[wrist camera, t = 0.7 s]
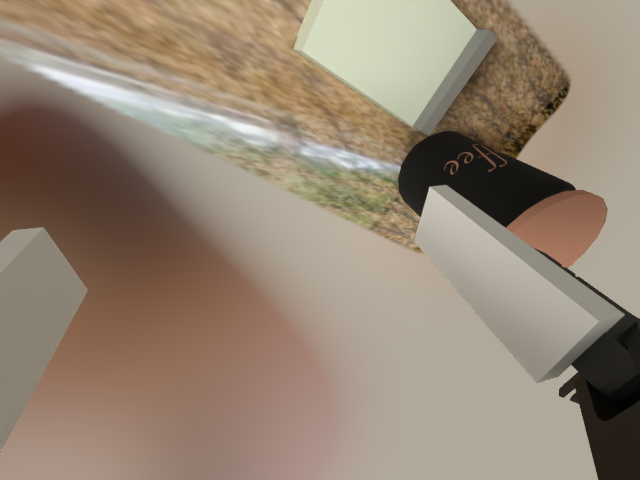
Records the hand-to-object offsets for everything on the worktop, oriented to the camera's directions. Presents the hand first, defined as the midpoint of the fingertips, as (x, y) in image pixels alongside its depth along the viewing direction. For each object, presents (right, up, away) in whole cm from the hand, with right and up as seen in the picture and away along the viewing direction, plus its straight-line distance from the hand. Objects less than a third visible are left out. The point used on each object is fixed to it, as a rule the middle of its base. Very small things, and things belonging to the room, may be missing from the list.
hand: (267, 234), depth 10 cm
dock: (+7, +19, +17) cm, 27 cm away
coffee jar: (+17, +9, +27) cm, 34 cm away
